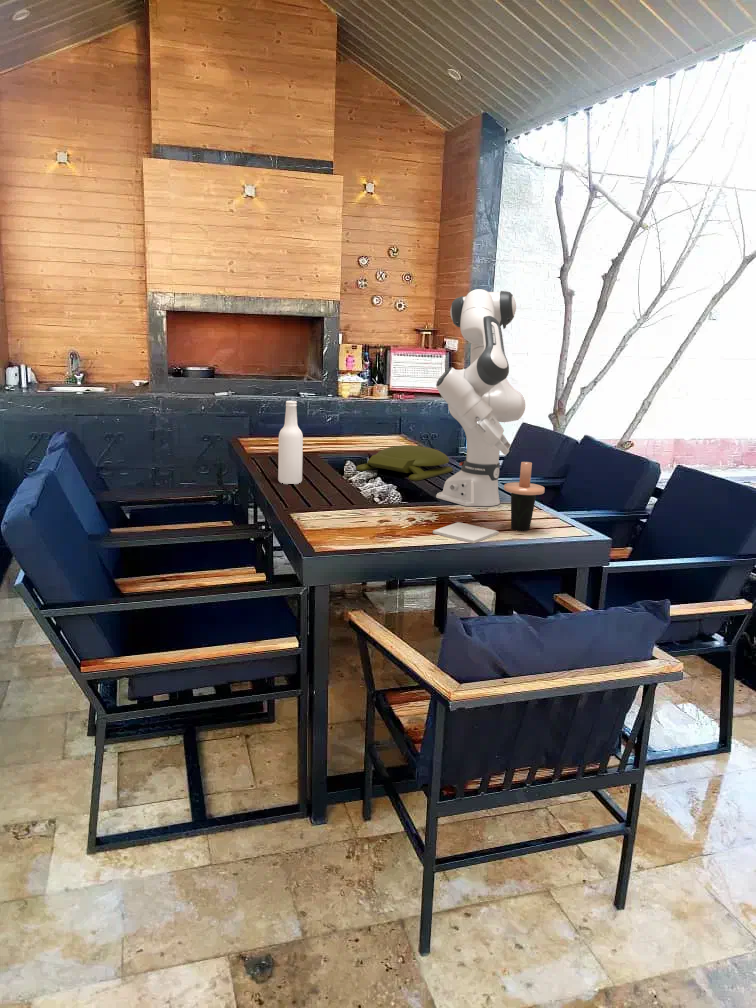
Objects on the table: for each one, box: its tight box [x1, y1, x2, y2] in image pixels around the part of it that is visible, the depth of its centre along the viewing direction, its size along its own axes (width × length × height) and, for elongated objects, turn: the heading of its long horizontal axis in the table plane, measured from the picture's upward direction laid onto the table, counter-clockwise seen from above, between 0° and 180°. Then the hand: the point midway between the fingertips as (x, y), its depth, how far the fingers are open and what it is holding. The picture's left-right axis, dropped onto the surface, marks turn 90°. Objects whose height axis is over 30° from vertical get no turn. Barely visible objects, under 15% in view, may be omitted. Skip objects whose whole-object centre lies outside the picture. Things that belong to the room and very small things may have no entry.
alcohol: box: [277, 400, 304, 485], centre depth 278 cm, size 9×9×30 cm
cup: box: [510, 493, 537, 532], centre depth 231 cm, size 8×8×12 cm
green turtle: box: [355, 444, 454, 482], centre depth 314 cm, size 35×31×10 cm
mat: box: [432, 521, 499, 544], centre depth 224 cm, size 14×14×1 cm
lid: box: [503, 461, 545, 496], centre depth 228 cm, size 12×12×8 cm
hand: (508, 450), depth 227 cm, fingers open, 8 cm apart
